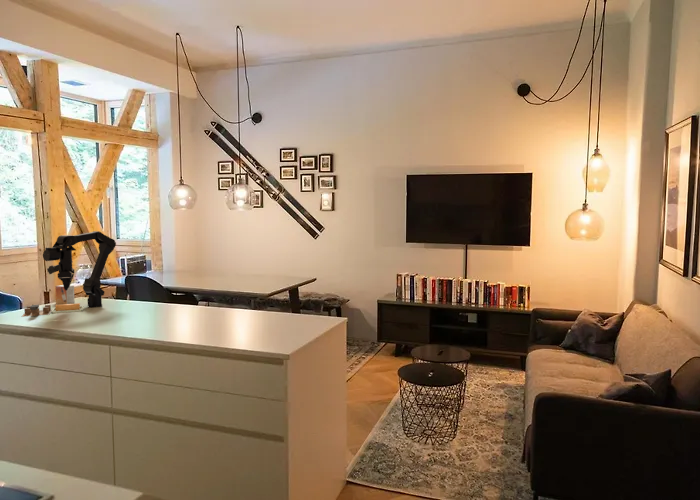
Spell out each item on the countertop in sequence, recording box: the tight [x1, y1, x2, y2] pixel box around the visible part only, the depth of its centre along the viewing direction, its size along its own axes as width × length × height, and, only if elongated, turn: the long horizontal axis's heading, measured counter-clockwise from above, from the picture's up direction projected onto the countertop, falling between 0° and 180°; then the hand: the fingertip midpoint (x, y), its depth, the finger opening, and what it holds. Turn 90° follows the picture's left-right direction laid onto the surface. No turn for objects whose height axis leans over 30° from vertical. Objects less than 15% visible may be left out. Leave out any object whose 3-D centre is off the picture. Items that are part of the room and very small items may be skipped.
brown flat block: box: [21, 304, 53, 317], centre depth 257 cm, size 12×14×4 cm
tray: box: [50, 305, 85, 314], centre depth 264 cm, size 14×10×1 cm
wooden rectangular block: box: [54, 302, 81, 311], centre depth 264 cm, size 11×4×4 cm, turn 114°
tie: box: [30, 304, 40, 310], centre depth 249 cm, size 3×7×2 cm, turn 24°
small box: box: [54, 284, 76, 305], centre depth 285 cm, size 8×6×10 cm
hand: (67, 289), depth 263 cm, fingers open, 9 cm apart
